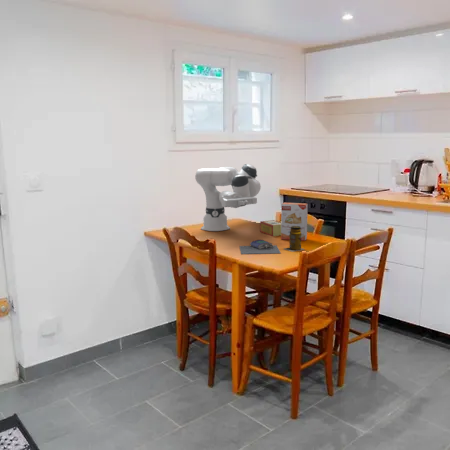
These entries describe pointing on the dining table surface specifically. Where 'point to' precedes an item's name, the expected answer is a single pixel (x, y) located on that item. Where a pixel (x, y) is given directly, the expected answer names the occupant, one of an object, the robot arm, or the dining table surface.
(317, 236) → the dining table surface
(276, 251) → the slate mat
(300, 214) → the cracker box
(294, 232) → the condiment
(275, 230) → the baking soda box
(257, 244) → the flask
